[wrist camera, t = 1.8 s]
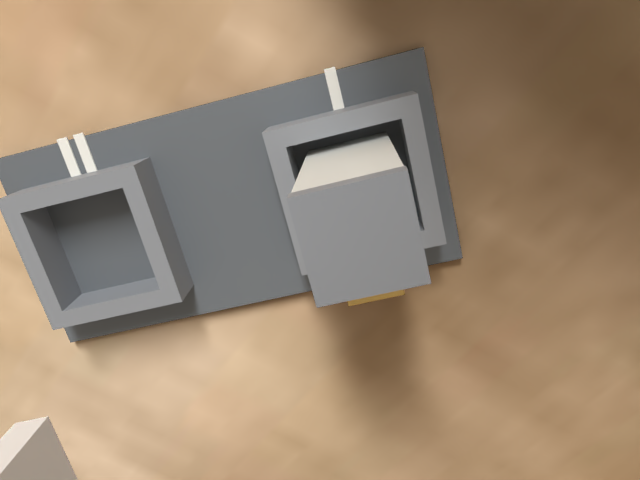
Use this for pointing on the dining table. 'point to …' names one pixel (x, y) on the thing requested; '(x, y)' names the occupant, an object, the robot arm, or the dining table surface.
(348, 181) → the plug
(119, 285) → the patch panel
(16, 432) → the robot arm
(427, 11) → the dining table surface
